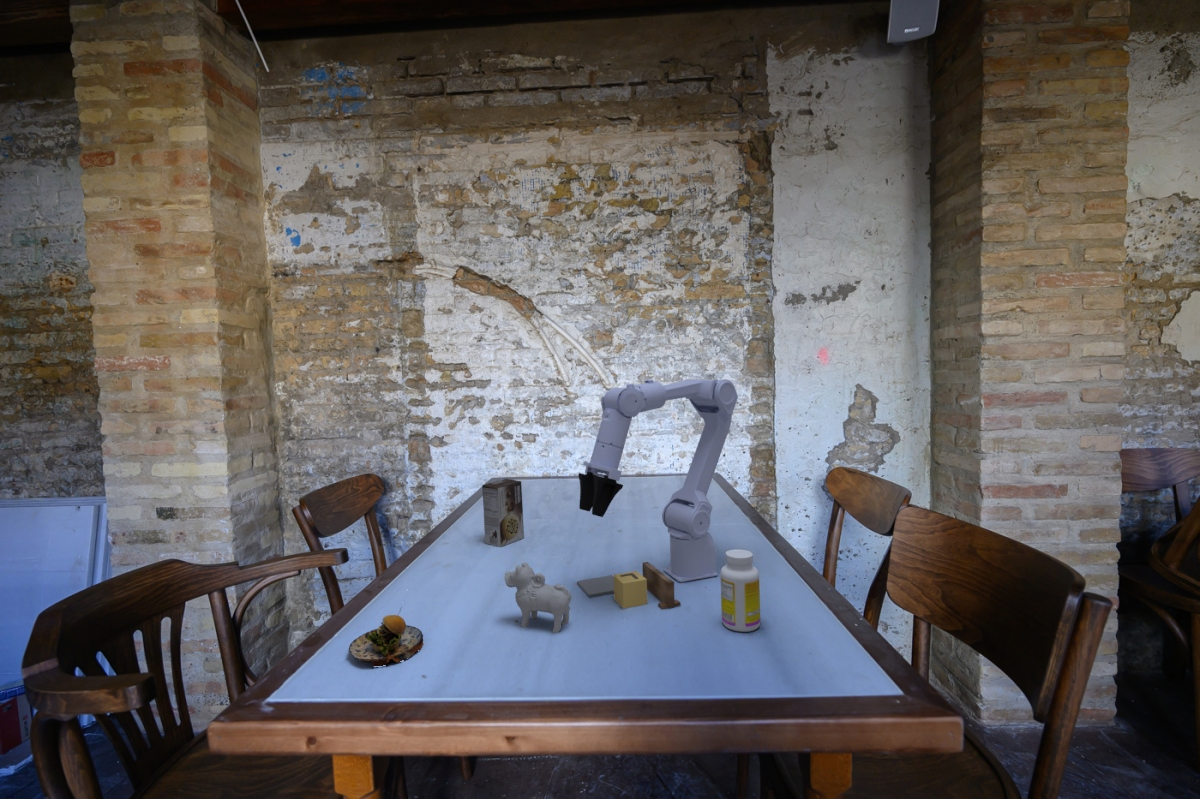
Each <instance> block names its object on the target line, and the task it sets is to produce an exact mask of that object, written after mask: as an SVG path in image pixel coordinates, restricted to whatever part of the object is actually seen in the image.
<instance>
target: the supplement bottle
mask: <svg viewBox="0 0 1200 799" xmlns="http://www.w3.org/2000/svg"><path fill="white" fill-rule="evenodd" d="M725 561H726V564H725V565H724V566H722V567H721V569H720V597H721V598H720V602H721V603H720V605H721V621H722V624H723V625H724V626H725V627H726V629H729V630H731V631H735V632H742V633H745V632H746V633H747V632H753V631H755V630H757V629H758V628H759V627H760V625H761V599H760V597H761V595H760V593H761V592H760V591H761V590H760V574H759V573H760V572H759V570H758V569H757V568H756V567H755V566H754V565H753V562H754V553H752V552H751V551H750V550H746V549H729V550H727V551H725Z"/></svg>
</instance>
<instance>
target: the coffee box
mask: <svg viewBox="0 0 1200 799" xmlns="http://www.w3.org/2000/svg"><path fill="white" fill-rule="evenodd" d="M481 488H482V505H483V508H482V509H483V523H484V524H483V526H484V528H483V529H484V544H486V545H489V544H490V546H493V545H494V546H493V547H498V548H503V547H505V546H507V545H510V544H513V543H515V542H517V541H519V540H522V539H524V538H525V532H524V527H525V526H524V509H523V493H522V489H523V488H522V481H521V480H517V479H516V480H515V479H508V478H504V479H501V480H500V479H499V480H496V481H492V482H489V483H488V482H487V483H484V484H482V487H481Z"/></svg>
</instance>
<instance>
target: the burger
mask: <svg viewBox="0 0 1200 799" xmlns="http://www.w3.org/2000/svg"><path fill="white" fill-rule="evenodd" d="M401 610H402V608H400V610H399V612H398V615H397V614H388V615H385V616H384V617H383V618H382V622H381V623H380V626H378V627H377V628H375V629H373V630H372V629H371V630H370V631H367V632H365V633H363V634H362V635H359V636H357V638H355V639H353V641H352V642H351V643H350V644H349V647H348V653H349V654H351V655H352V656H353V657H354V658H355V659H357V660H359V661H365V662H371V664H372V667H373V668H374V666H383V665H386V664H387V665H388V662H390V660H393V661H394V662H396V663H397V664H398V663H399V662H400V661H402V660H404V661H405V660H407V658H409V659H410V658H411V656H412V655H415V653H416V652H418V650H420V649H421V647H422V648H423V646H424V643H423V642H424V634H423V632H422V630H421V629H419V628H417V627H416V626H412V625H407V623H406V621H405V619H404V618H403V617H402V616H400V613H401ZM421 650H422V649H421ZM421 650H420V651H421ZM400 663H401V662H400Z"/></svg>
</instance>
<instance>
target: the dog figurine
mask: <svg viewBox="0 0 1200 799" xmlns="http://www.w3.org/2000/svg"><path fill="white" fill-rule="evenodd" d="M514 569H515V570H513V571H507V572H505V573H504V582H505V585H506V587H508V588H516V592H515V597H514V598H515V602H516V605H517V607H519V609H520V612H521V614H522V615H521V616H522V621H521V624H520V627H521V628H523V629H524V628H527V627H528V626H529V624H530V622H529V619H534V620H535V619H536V618H538V614H539V612H540V613H541V612H542V613H547V614H551V615H552V616H553V622H554V623H553V629H552V633H553V634H558V633H559V632H561V628H562V625H565V624H568V623H569V622H570V610H571V607H570V603H571V601H572V594H571V591H569V590H568V589H567V588H566V586H564V585H562V584H560V583H555V584H554V585H551V584H547V583H546V578H545V575H544V574H543V573H540V572H538V573H535V571H534V570H533V568H532V567H531V566H530V565H529V563H527V562H525V561H524V562H522V563H521V565H516V566H515V568H514Z"/></svg>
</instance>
